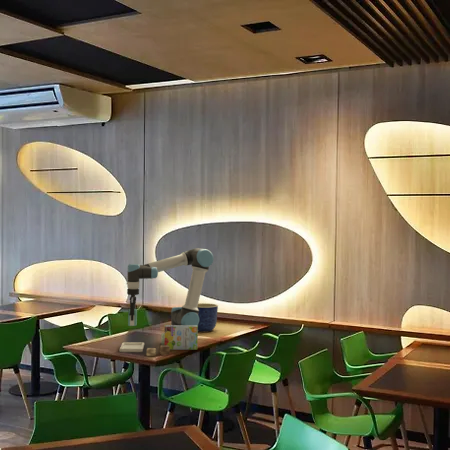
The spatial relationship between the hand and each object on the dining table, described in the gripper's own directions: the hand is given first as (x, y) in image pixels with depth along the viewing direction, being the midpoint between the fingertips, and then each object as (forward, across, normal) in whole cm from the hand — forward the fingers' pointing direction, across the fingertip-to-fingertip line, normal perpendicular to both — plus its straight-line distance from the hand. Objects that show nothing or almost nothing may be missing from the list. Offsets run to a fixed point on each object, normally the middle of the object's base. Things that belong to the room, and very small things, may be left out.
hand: (132, 324), depth 391 cm
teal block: (0, 0, 0) cm, 0 cm away
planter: (+15, -65, +48) cm, 82 cm away
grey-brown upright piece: (+15, -14, +21) cm, 30 cm away
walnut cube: (+15, +15, +21) cm, 30 cm away
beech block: (+16, +18, +13) cm, 27 cm away
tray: (+15, 0, 0) cm, 15 cm away
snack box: (+16, 0, +31) cm, 35 cm away
